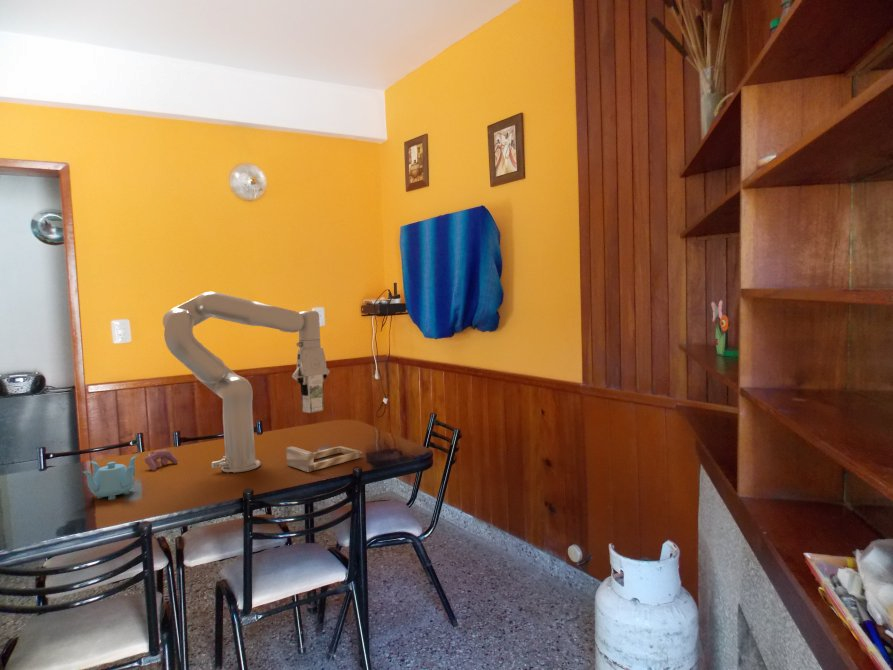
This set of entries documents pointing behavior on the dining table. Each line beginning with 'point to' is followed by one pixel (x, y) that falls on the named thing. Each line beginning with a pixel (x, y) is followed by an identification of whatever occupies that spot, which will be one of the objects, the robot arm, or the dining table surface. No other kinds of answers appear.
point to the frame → (306, 458)
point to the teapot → (111, 479)
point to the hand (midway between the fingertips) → (312, 393)
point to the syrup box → (313, 395)
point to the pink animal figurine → (159, 454)
